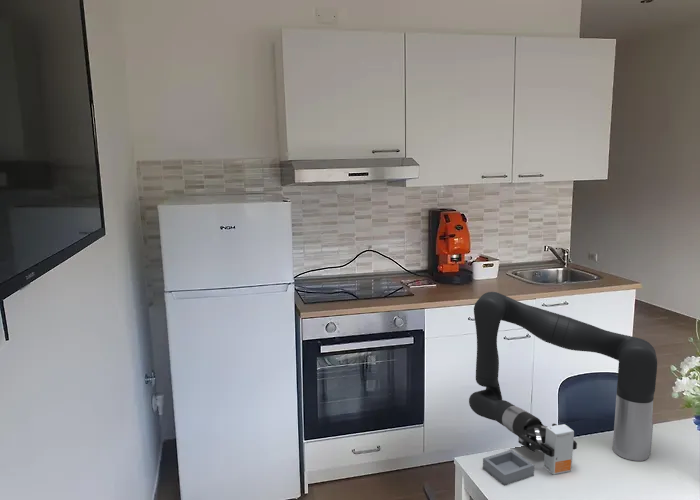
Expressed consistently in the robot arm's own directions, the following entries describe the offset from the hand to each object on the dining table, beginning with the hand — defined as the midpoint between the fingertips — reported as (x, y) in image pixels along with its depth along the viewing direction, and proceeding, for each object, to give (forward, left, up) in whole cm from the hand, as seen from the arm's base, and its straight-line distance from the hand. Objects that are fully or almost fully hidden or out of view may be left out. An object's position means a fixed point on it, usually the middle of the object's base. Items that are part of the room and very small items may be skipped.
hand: (564, 449), depth 141 cm
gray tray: (+13, -7, -7) cm, 16 cm away
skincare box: (0, -2, -7) cm, 7 cm away
